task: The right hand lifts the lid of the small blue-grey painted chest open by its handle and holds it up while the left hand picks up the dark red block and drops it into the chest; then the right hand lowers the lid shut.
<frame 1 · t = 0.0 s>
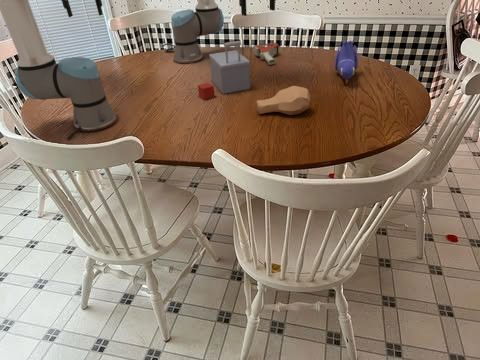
left hand: (85, 15, 157), 28 cm above the table, tool pointing down, fingers open, 13 cm apart
right hand: (258, 12, 143), 28 cm above the table, tool pointing down, fingers open, 13 cm apart
squash: (283, 112, 132), on the table
toy: (345, 78, 156), on the table
lid: (228, 49, 148), point 15 cm above the table, hinge at -0.1°
chest: (230, 84, 157), on the table
block: (206, 96, 148), on the table
tape dispenser: (266, 58, 184), on the table
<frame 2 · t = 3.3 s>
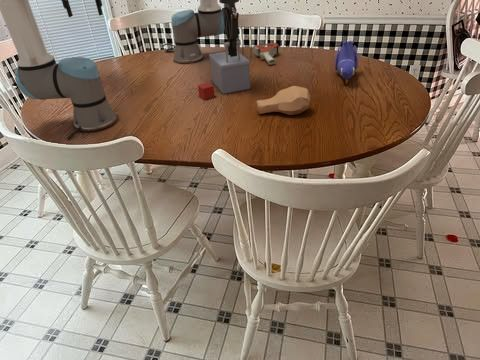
left hand: (85, 15, 157), 28 cm above the table, tool pointing down, fingers open, 13 cm apart
right hand: (232, 55, 144), 15 cm above the table, tool pointing down, fingers closed on lid, 2 cm apart
lid: (228, 49, 148), point 15 cm above the table, hinge at 0.4°, touching right hand
everything else where it was.
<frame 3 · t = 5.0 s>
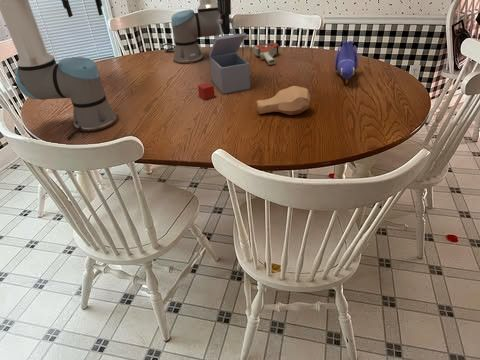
left hand: (85, 15, 157), 28 cm above the table, tool pointing down, fingers open, 13 cm apart
right hand: (226, 32, 145), 22 cm above the table, tool pointing down, fingers closed on lid, 2 cm apart
lid: (224, 36, 148), point 20 cm above the table, hinge at 36.4°, touching right hand
everything else where it was.
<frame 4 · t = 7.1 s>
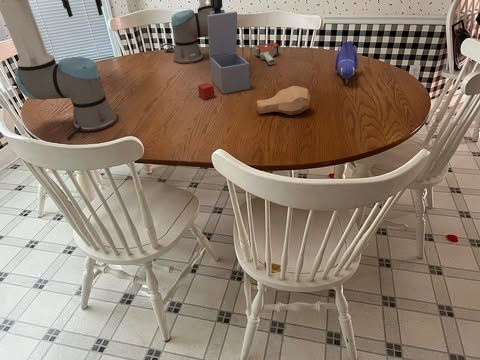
left hand: (86, 15, 157), 28 cm above the table, tool pointing down, fingers open, 13 cm apart
right hand: (218, 24, 153), 23 cm above the table, tool pointing down, fingers closed on lid, 2 cm apart
lid: (219, 30, 152), point 21 cm above the table, hinge at 76.0°, touching right hand
everything else where it was.
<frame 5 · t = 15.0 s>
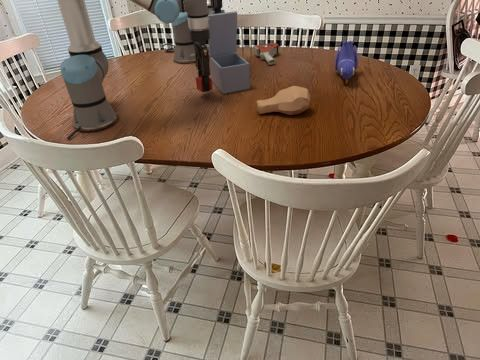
left hand: (204, 88, 146), 4 cm above the table, tool pointing down, fingers closed on block, 5 cm apart
right hand: (218, 24, 153), 23 cm above the table, tool pointing down, fingers closed on lid, 2 cm apart
lid: (219, 30, 152), point 21 cm above the table, hinge at 76.3°, touching right hand
block: (204, 89, 146), point 3 cm above the table, touching left hand
everything else where it was.
when the left hand's fingers open (17 cm above the table, at t = 17.7 s): block drops 16 cm, resting on chest.
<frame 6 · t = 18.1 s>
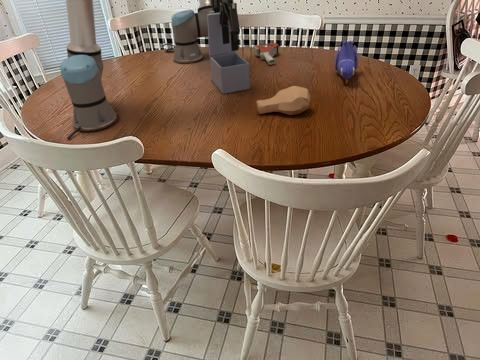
left hand: (230, 46, 143), 17 cm above the table, tool pointing down, fingers open, 11 cm apart
right hand: (217, 24, 153), 23 cm above the table, tool pointing down, fingers closed on lid, 2 cm apart
lid: (219, 29, 153), point 21 cm above the table, hinge at 78.3°, touching left hand, right hand
chest: (230, 84, 157), on the table, touching block
block: (232, 85, 154), point 1 cm above the table, touching chest
everything else where it was.
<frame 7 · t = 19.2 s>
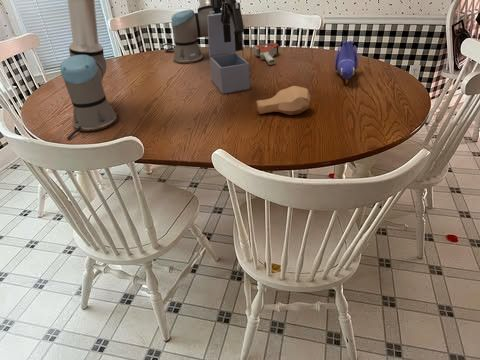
left hand: (233, 46, 140), 18 cm above the table, tool pointing down, fingers open, 13 cm apart
right hand: (217, 24, 153), 23 cm above the table, tool pointing down, fingers closed on lid, 2 cm apart
lid: (219, 30, 153), point 21 cm above the table, hinge at 76.1°, touching right hand
everything else where it was.
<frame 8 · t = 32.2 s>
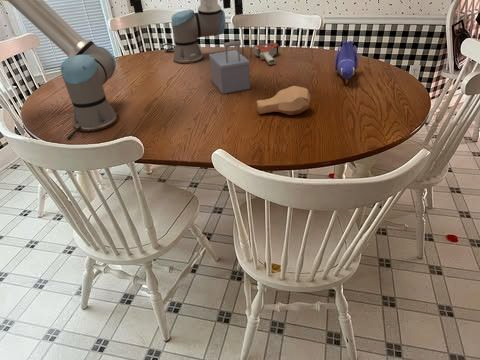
left hand: (136, 9, 122), 36 cm above the table, tool pointing down, fingers open, 13 cm apart
right hand: (232, 11, 131), 32 cm above the table, tool pointing down, fingers open, 13 cm apart
lid: (228, 49, 148), point 15 cm above the table, hinge at -0.1°
everything else where it was.
at the end: block inside the target area in the chest (3.7 cm from its centre), point 0.8 cm above the chest's base; lid at +0° (first picture: +0°); the left hand is holding nothing; the right hand is holding nothing; chest tilted 0°; chest moved 0.1 cm from its start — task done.
